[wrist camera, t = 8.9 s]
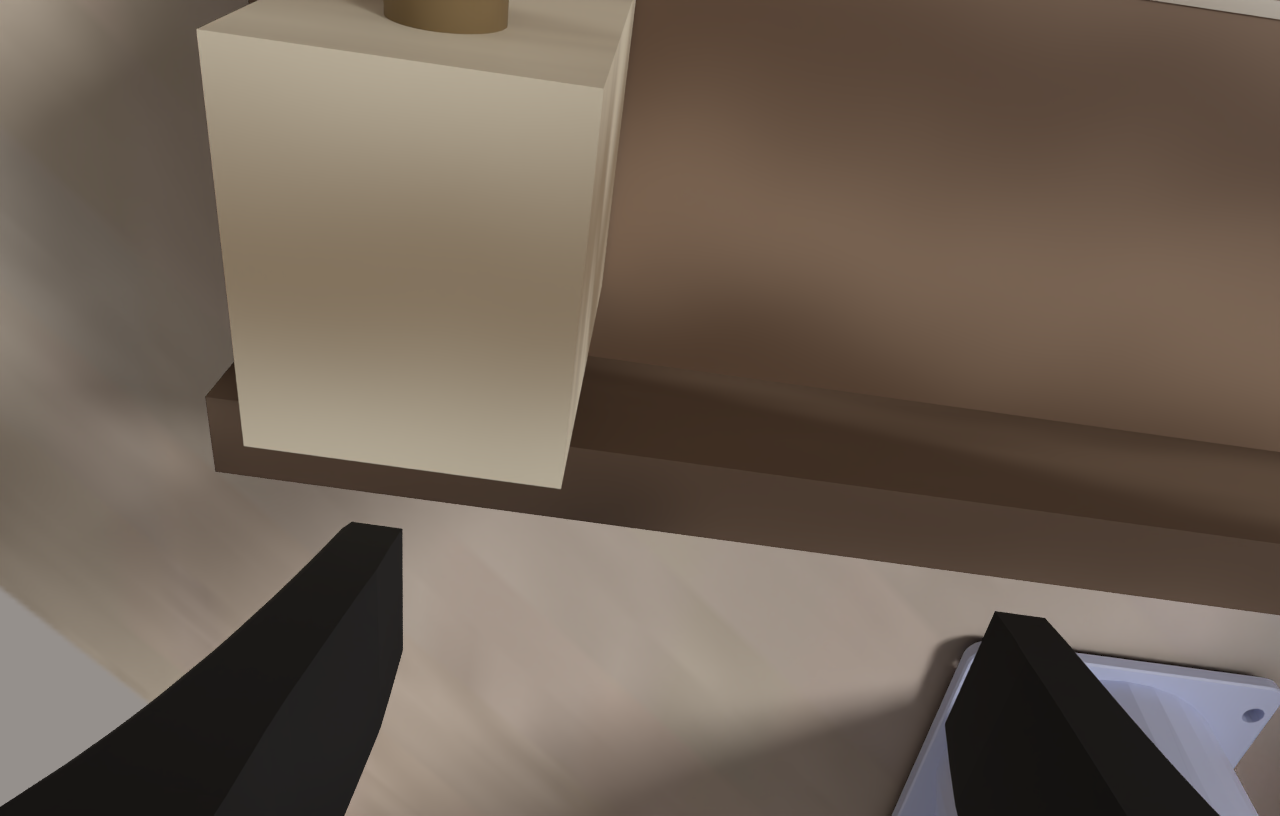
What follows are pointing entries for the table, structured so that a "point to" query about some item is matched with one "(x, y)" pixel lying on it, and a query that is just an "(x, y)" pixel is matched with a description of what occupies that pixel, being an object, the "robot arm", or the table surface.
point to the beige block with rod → (415, 222)
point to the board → (930, 295)
